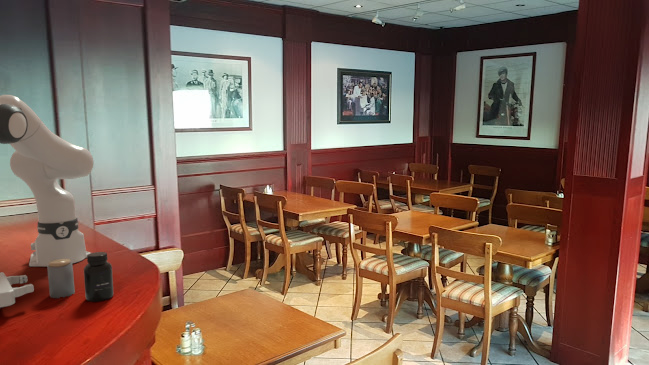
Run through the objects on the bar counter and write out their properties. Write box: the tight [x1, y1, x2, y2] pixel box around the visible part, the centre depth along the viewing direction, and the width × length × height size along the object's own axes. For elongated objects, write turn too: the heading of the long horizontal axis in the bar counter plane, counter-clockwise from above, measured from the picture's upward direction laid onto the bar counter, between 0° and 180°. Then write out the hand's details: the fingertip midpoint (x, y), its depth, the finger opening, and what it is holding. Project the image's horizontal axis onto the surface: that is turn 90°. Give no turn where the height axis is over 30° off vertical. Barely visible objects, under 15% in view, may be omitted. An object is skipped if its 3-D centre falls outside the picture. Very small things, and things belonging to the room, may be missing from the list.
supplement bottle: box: [83, 251, 114, 303], centre depth 128 cm, size 7×7×12 cm
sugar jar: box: [46, 259, 76, 299], centre depth 132 cm, size 6×6×9 cm
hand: (30, 282), depth 127 cm, fingers open, 8 cm apart
